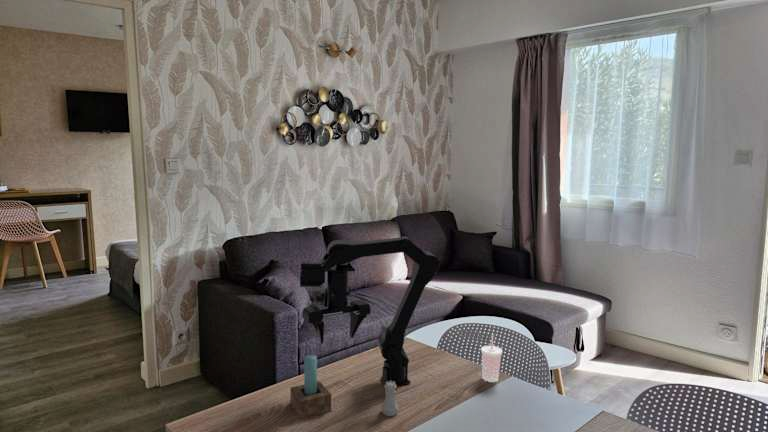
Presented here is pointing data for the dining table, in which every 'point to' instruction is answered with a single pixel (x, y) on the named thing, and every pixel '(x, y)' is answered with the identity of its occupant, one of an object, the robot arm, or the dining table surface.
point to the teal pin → (310, 375)
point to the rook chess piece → (390, 400)
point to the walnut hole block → (310, 401)
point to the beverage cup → (491, 362)
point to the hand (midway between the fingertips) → (336, 340)
